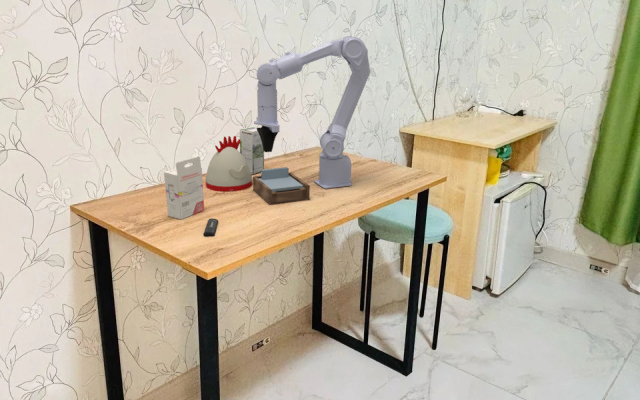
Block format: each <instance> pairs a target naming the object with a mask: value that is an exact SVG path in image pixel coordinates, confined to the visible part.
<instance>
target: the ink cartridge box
mask: <svg viewBox="0 0 640 400" xmlns="http://www.w3.org/2000/svg"><path fill="white" fill-rule="evenodd" d="M190 164H192V165H190ZM163 175H164V187H165V188H164V189H165V199H166V207H167V216H168V217H171V218H175V219H177V220H183V219H186V218H189V217H191V216H193V215H195V214H198V213H201V212H203V211H204V210H205V203H204V202H205V200H204V197H205V196H204V183H203V168H202V163H201V157H200V156H199V155H198V156H196V157H191V158H186V159H184V160H181V161H177V162H176V163H175V168H174V169H171V170H170V169H169V170H167V171H164V172H163Z"/></svg>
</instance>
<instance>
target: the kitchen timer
mask: <svg viewBox="0 0 640 400" xmlns="http://www.w3.org/2000/svg"><path fill="white" fill-rule="evenodd" d="M218 143H219V147H220V148H219V147H218V146H217V145H215V144H214V147H215V149H216V152H215V153H214V154H213V155H212V157H211V159H210V161H209V164H208V166H207V170H206V175H205V187H206V188H207V189H209V190H210V191H214V192H221V193H223V192H225V193H229V192H230V193H231V192H233V193H234V192H239V191H240V192H241V191H244V190H248V189H249V188H250V189H251V187H253V175H252V174H251V172H250V169H249V166H248V163H247V161H246V159H245V158H244V156H243V155H242V154H241V153H240V150H238V149H239V148H240V138H239V139H237V136H236V135H234V136H233V138H231V136H229V135H228V137H227V136H223V142H222V140H218Z"/></svg>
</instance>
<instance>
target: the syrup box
mask: <svg viewBox="0 0 640 400" xmlns="http://www.w3.org/2000/svg"><path fill="white" fill-rule="evenodd" d="M257 128H259V127H258V126H250V127H244V128H239V139H240V144H239V152H240V153H241V154H242V155H243V156H244V158H245V159H246V161H247V163H248V166H249V169H250V172H251V176H254V175H256V174H259V173H260V174H261V170H263V169H265V152H264V150H263V146H262V141H261V138H260V135H259V133H258V131H257Z"/></svg>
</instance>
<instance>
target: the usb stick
mask: <svg viewBox="0 0 640 400" xmlns="http://www.w3.org/2000/svg"><path fill="white" fill-rule="evenodd" d="M218 224H219V220H218V219H217V218H208V220H207V223H206V225H205V228H204V232H203V233H202V234H203V237H208V238H209V237H212V238H213V237H214V236H215V235H216V232H217V227H218Z"/></svg>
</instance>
